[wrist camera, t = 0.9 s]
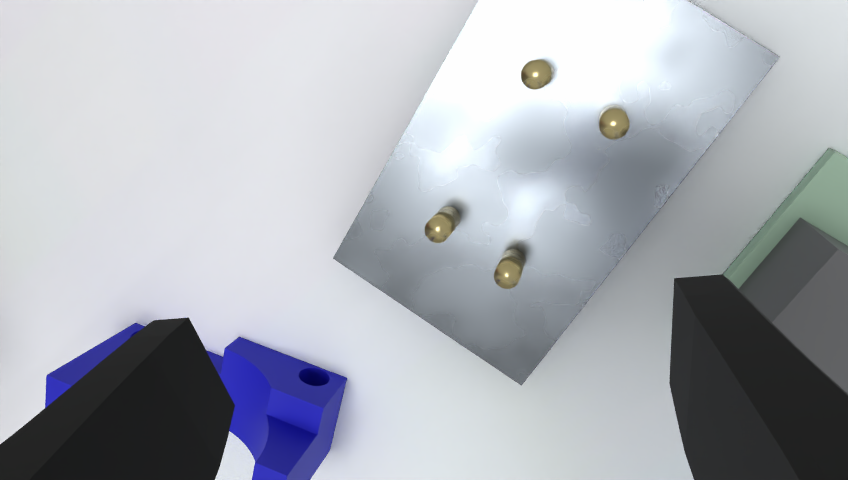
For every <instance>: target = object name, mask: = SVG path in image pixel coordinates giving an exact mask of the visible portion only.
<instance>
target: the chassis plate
mask: <svg viewBox="0 0 848 480" xmlns="http://www.w3.org/2000/svg"><path fill="white" fill-rule="evenodd" d="M779 57H780V56H778V55H776V54H775V53H773V52H771V51H770V50H768V49H766V48H765V47H763V46H762V45H760V44H758V43H757V42H755V41H753V40H752V39H750V38H748V37H747V36H745V35H744V34H742V33H740V32H739V31H737V30H735V29H734V28H732V27H731V26H729V25H727V24H726V23H724V22H722V21H721V20H719V19H717V18H716V17H714V16H713V15H711V14H709V13H708V12H706V11H704V10H703V9H701V8H699V7H698V6H696V5H695V4H693V3H691V2H690V1H688V0H478V2H477V4H476V6H475V8H474V9H473V11H472V13H471V15H470V16H469V18H468V20H467V22H466V24H465V25H464V27H463V29H462V31H461V32H460V34H459V36H458V38H457V39H456V41H455V43H454V45H453V47H452V48H451V50H450V52H449V54H448V55H447V57H446V59H445V61H444V63H443V64H442V66H441V68H440V70H439V71H438V73H437V75H436V77H435V78H434V80H433V82H432V84H431V86H430V87H429V89H428V91H427V93H426V94H425V96H424V98H423V100H422V102H421V103H420V105H419V107H418V109H417V110H416V112H415V114H414V116H413V118H412V119H411V121H410V123H409V125H408V126H407V128H406V130H405V132H404V133H403V135H402V137H401V139H400V141H399V142H398V144H397V146H396V148H395V149H394V151H393V153H392V155H391V157H390V158H389V160H388V162H387V164H386V165H385V167H384V169H383V171H382V172H381V174H380V176H379V178H378V180H377V181H376V183H375V185H374V187H373V188H372V190H371V192H370V194H369V196H368V197H367V199H366V201H365V203H364V204H363V206H362V208H361V210H360V212H359V213H358V215H357V217H356V219H355V220H354V222H353V224H352V226H351V227H350V229H349V231H348V233H347V235H346V236H345V238H344V240H343V242H342V243H341V245H340V247H339V249H338V251H337V252H336V254H335V256H334V258H333V259H335V260H336V261H338V262H339V263H341V264H342V265H344V266H345V267H347V268H348V269H350V270H351V271H353V272H354V273H356V274H357V275H359V276H360V277H362V278H363V279H364V280H366V281H367V282H369V283H370V284H372V285H373V286H375V287H376V288H378V289H379V290H381V291H382V292H384V293H385V294H387V295H388V296H390V297H391V298H393V299H394V300H396V301H397V302H399V303H400V304H402V305H403V306H405V307H406V308H407V309H409V310H410V311H412V312H413V313H415V314H416V315H418V316H419V317H421V318H422V319H424V320H425V321H427V322H428V323H430V324H431V325H433V326H434V327H436V328H437V329H439V330H440V331H442V332H443V333H445V334H446V335H448V336H449V337H450V338H452V339H453V340H455V341H456V342H458V343H459V344H461V345H462V346H464V347H465V348H467V349H468V350H470V351H471V352H473V353H474V354H476V355H477V356H479V357H480V358H482V359H483V360H485V361H486V362H488V363H489V364H491V365H492V366H494V367H495V368H496V369H498V370H499V371H501V372H502V373H504V374H505V375H507V376H508V377H510V378H511V379H513V380H514V381H516V382H517V383H519V384H520V385H522V384H523V383H524V382H525V380H526V379H527V378H528V376H529V375H530V374H531V373H532V371H533V370H534V369H535V368H536V366H537V365H538V364H539V362H540V361H541V360H542V359H543V357H544V356H545V355H546V354H547V352H548V351H549V350H550V348H551V347H552V346H553V345H554V343H555V342H556V341H557V340H558V338H559V337H560V336H561V334H562V333H563V332H564V331H565V329H566V328H567V327H568V326H569V324H570V323H571V322H572V321H573V319H574V318H575V317H576V315H577V314H578V313H579V312H580V310H581V309H582V308H583V307H584V305H585V304H586V303H587V301H588V300H589V299H590V298H591V296H592V295H593V294H594V293H595V291H596V290H597V289H598V287H599V286H600V285H601V284H602V282H603V281H604V280H605V279H606V277H607V276H608V275H609V273H610V272H611V271H612V270H613V268H614V267H615V266H616V265H617V263H618V262H619V261H620V259H621V258H622V257H623V256H624V254H625V253H626V252H627V251H628V249H629V248H630V247H631V245H632V244H633V243H634V242H635V240H636V239H637V238H638V237H639V235H640V234H641V233H642V232H643V230H644V229H645V228H646V226H647V225H648V224H649V223H650V221H651V220H652V219H653V218H654V216H655V215H656V214H657V212H658V211H659V210H660V209H661V207H662V206H663V205H664V204H665V202H666V201H667V200H668V198H669V197H670V196H671V195H672V193H673V192H674V191H675V190H676V188H677V187H678V186H679V184H680V183H681V182H682V181H683V179H684V178H685V177H686V176H687V174H688V173H689V172H690V170H691V169H692V168H693V167H694V165H695V164H696V163H697V162H698V160H699V159H700V158H701V156H702V155H703V154H704V153H705V151H706V150H707V149H708V148H709V146H710V145H711V144H712V142H713V141H714V140H715V139H716V137H717V136H718V135H719V134H720V132H721V131H722V130H723V129H724V127H725V126H726V125H727V123H728V122H729V121H730V120H731V118H732V117H733V116H734V115H735V113H736V112H737V111H738V109H739V108H740V107H741V106H742V104H743V103H744V102H745V101H746V99H747V98H748V97H749V95H750V94H751V93H752V92H753V90H754V89H755V88H756V87H757V85H758V84H759V83H760V81H761V80H762V79H763V78H764V76H765V75H766V74H767V73H768V71H769V70H770V69H771V67H772V66H773V65H774V64H775V62H776V61H777V60H778V59H779Z"/></svg>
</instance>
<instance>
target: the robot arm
mask: <svg viewBox="0 0 848 480" xmlns="http://www.w3.org/2000/svg"><path fill="white" fill-rule="evenodd" d="M670 388H671V392H672V397H673V402H674V406H675V411H676V415H677V420H678V424H679V429H680V433H681V437H682V442H683V446H684V450H685V454H686V457H687V460H688V463H689V466H690V469H691V472H692V474H693V477H694V480H848V393H847V392H845V391H844V390H843V389H842V388H841V387H840V386H839V385H838V384H837V383H835V382H834V381H833V380H832V379H831V378H830V377H829V376H828V375H827V374H825V373H824V372H823V371H822V370H821V369H820V368H819V367H818V366H817V365H816V364H814V363H813V362H812V361H811V360H810V359H809V358H808V357H807V356H806V355H805V354H804V353H803V352H802V351H801V350H800V349H799V348H797V347H796V346H795V345H794V344H793V343H792V342H791V341H790V340H789V339H788V338H787V337H786V336H785V335H784V334H783V333H782V332H781V331H780V330H779V329H778V328H777V327H776V326H775V325H774V324H773V323H772V322H771V321H770V320H769V319H768V318H767V317H766V316H765V315H764V314H763V313H762V312H761V311H760V310H759V309H758V308H757V307H756V306H755V305H754V304H753V303H752V302H751V301H750V300H749V299H748V298H747V297H746V296H745V295H744V294H743V293H742V292H741V291H740V290H739V289H738V288H737V287H736V286H735V285H734V284H733V283H732V282H731V281H730V280H729V279H728V278H726V277H725V276H724V275H711V276H699V277H687V278H674V297H673V319H672V340H671V362H670ZM234 408H235V404H234V402H233V401H232V399H231V397H230V395H229V393H228V391H227V389H226V387H225V385H224V384H223V382H222V380H221V378H220V376H219V374H218V372H217V370H216V368H215V367H214V365H213V363H212V361H211V359H210V357H209V355H208V353H207V351H206V350H205V348H204V346H203V344H202V342H201V340H200V338H199V336H198V334H197V333H196V331H195V329H194V327H193V325H192V323H191V321H190V319H189V318H179V319H166V320H154V321H152V322H151V323H150V324H148V325H147V326H145V327H144V328H143V329H141V330H140V331H139V332H137V333H136V334H135V335H133V336H132V337H131V338H130V339H128V340H127V341H126V342H124V343H123V344H122V345H121V346H119V347H118V348H117V349H116V350H115V351H113V352H112V353H111V354H110V355H108V356H107V357H106V358H105V359H104V360H102V361H101V362H100V363H99V364H98V365H96V366H95V367H94V368H93V369H92V370H90V371H89V372H88V373H87V374H86V375H84V376H83V377H82V378H81V379H80V380H78V381H77V382H76V383H75V384H74V385H72V386H71V387H70V388H69V389H68V390H66V391H65V392H64V393H63V394H62V395H60V396H59V397H58V398H57V399H56V400H54V401H53V402H52V403H51V404H50V405H48V406H47V407H46V408H45V409H44V410H42V411H41V412H40V413H39V414H38V415H36V416H35V417H34V418H33V419H32V420H30V421H29V422H28V423H27V424H26V425H24V426H23V427H22V428H21V429H19V430H18V431H17V432H16V433H14V434H13V435H12V436H11V437H9V438H8V439H7V440H5V441H4V442H3V443H2V444H0V480H215V477H216V475H217V472H218V470H219V467H220V463H221V460H222V456H223V452H224V449H225V445H226V442H227V438H228V434H229V429H230V425H231V421H232V417H233V412H234Z"/></svg>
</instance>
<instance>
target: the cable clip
mask: <svg viewBox="0 0 848 480" xmlns="http://www.w3.org/2000/svg"><path fill="white" fill-rule="evenodd" d="M144 327H145V326H142V325H140V324H137V323H135V324H133V325H131V326H129V327H128V328H126V329H124V330H123V331H121V332H119V333H118V334H116V335H114V336H112V337H111V338H109V339H107V340H106V341H104V342H102V343H101V344H99V345H97V346H95V347H94V348H92V349H90V350H89V351H87V352H85V353H84V354H82V355H80V356H78V357H77V358H75V359H73V360H72V361H70V362H68V363H67V364H65V365H63V366H61V367H60V368H58V369H56V370H55V371H53V372H51V373H50V374H48V375H47V377H46V403H45V408H46V407H47V406H48V405H50V404H51V403H52V402H53V401H54V400H56V399H57V398H58V397H59V396H60V395H62V394H63V393H64V392H65V391H66V390H68V389H69V388H70V387H71V386H72V385H74V384H75V383H76V382H77V381H78V380H80V379H81V378H82V377H83V376H84V375H86V374H87V373H88V372H89V371H90V370H92V369H93V368H94V367H95V366H96V365H98V364H99V363H100V362H101V361H102V360H104V359H105V358H106V357H107V356H108V355H110V354H111V353H112V352H113V351H115V350H116V349H117V348H118V347H119V346H121V345H122V344H123V343H124V342H126V341H127V340H128V339H130V338H131V337H132V336H133V335H135V334H136V333H137V332H139V331H140V330H141V329H143V328H144ZM207 353H208V355H209V357H210V359H211V361H212V363H213V365H214V367H215V368H216V370H217V372H218V374H219V376H220V378H221V380H222V382H223V384H224V385H225V387H226V389H227V391H228V393H229V395H230V397H231V399H232V401H233V402H234V404H235V408H234V412H233V417H232V421H231V425H230V429H229V431H230V432H232V433H233V434H234V435H236V436H237V437H238V438H239V439H240V440H241V441H242V442H243V443H244V444H245V445H246V446H247V447H248V449H249V450H250V452H251V453H252V455H253V457H254V459H255V466H254V471H253V477H252V480H310V479H311V477H312V476H313V475H314V473H315V472H316V470H317V469H318V467H319V466H320V464H321V463H322V461H323V460H324V458H325V457H326V455H327V454H328V452H329V451H330V447H331V443H332V439H333V435H334V431H335V426H336V422H337V418H338V414H339V410H340V405H341V401H342V397H343V393H344V389H345V384H346V380H347V378H346V377H343V376H341V375H338V374H335V373H333V372H330V371H327V370H325V369H322V368H320V367H317V366H314V365H312V364H309V363H306V362H304V361H301V360H299V359H296V358H293V357H291V356H288V355H286V354H283V353H280V352H278V351H275V350H272V349H270V348H267V347H265V346H262V345H259V344H257V343H254V342H251V341H249V340H246V339H244V338H241V337H238V338H237V339H236V340H235V341H233V342H232V343H231V344H230V345H228V346H227V347H226V348H225V350H224V357H222V356H219V355H217V354H214V353H212V352H209V351H207Z"/></svg>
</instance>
